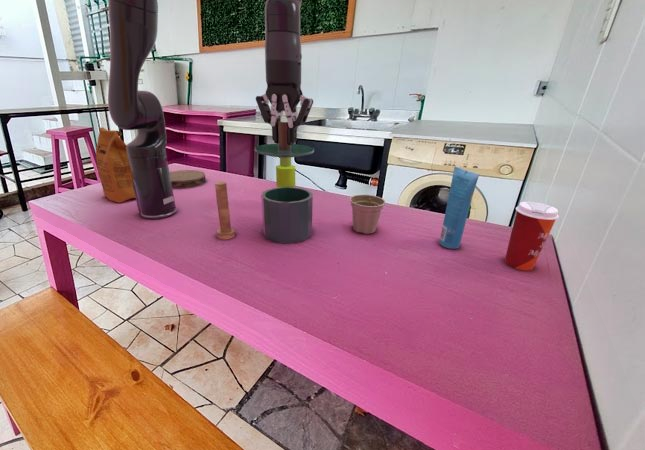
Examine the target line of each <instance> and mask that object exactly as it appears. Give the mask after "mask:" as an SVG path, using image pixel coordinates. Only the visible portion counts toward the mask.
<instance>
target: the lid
mask: <svg viewBox="0 0 645 450" xmlns="http://www.w3.org/2000/svg"><path fill="white" fill-rule="evenodd" d="M288 128H289V126H288V120H281V121H278V144H277V143H266V144H261V145H257V146H255V147H254V152H255V153H257V154H259V155H262V156H263V155H264V156H268V157H274V158H280V157H291V158H298V157H303V156H304V157H305V156H309V155H312V154H313V153H314V152H315V148H314V147H311V146H309V145H305V144H298V143H295V144H294V145H288Z"/></svg>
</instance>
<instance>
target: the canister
mask: <svg viewBox="0 0 645 450" xmlns="http://www.w3.org/2000/svg"><path fill="white" fill-rule="evenodd" d="M260 196H261V197H260V199H261V217H262V218H261V219H262V232H263V236H264V237H265V239H267V240H268V241H271V242H275V243H278V244H294V243H295V244H296V243H299V242H300V243H301V242H303V241H305V240H308V239H309V238H311V236H312V234H313V219H314V218H313V217H314V216H313V215H314V213H313V212H314V211H313V210H314V208H313V207H314V193H313V192H312V191H311V190H309V189H306V188H303V187H297V186H295V187H277V186H276V187H273V188H269V189H267V190H264V191H263V192H261V195H260Z"/></svg>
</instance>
